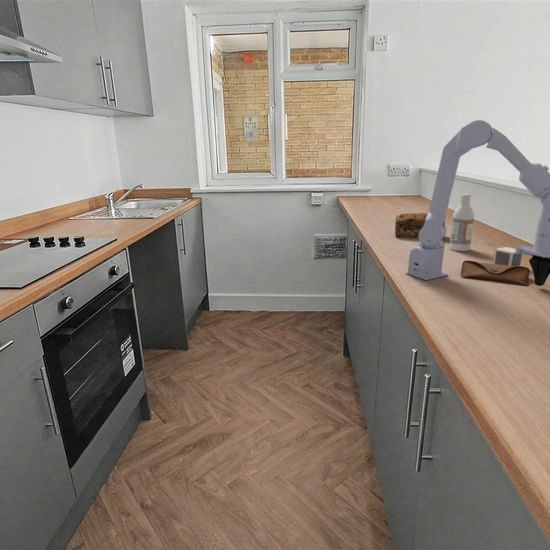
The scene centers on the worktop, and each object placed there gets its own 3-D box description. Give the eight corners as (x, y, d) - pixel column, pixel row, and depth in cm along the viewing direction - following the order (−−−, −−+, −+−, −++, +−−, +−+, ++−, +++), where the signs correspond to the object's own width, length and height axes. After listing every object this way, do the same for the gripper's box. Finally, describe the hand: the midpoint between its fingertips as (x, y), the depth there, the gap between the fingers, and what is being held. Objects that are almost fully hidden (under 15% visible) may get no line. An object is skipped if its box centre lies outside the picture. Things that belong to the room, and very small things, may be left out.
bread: (441, 235, 173) (444, 212, 170) (441, 241, 164) (444, 216, 160) (396, 232, 180) (397, 210, 176) (393, 238, 170) (395, 214, 167)
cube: (509, 270, 125) (512, 253, 123) (492, 265, 130) (494, 249, 128) (520, 267, 127) (523, 250, 126) (503, 263, 132) (506, 246, 131)
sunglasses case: (458, 277, 118) (462, 255, 120) (458, 283, 125) (462, 262, 126) (530, 286, 111) (533, 262, 112) (527, 291, 117) (529, 269, 118)
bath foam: (462, 252, 145) (469, 195, 139) (445, 248, 151) (451, 194, 145) (473, 249, 149) (481, 194, 143) (456, 246, 154) (463, 192, 148)
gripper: (588, 238, 100) (577, 289, 105) (529, 228, 113) (521, 275, 117) (573, 241, 97) (562, 295, 101) (514, 231, 109) (506, 279, 113)
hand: (539, 284), depth 109 cm, fingers closed
